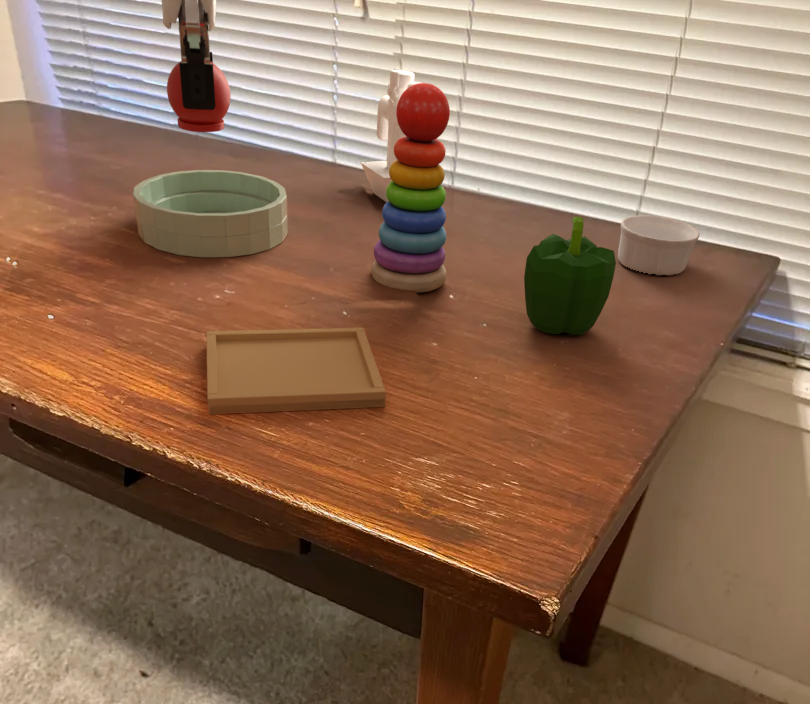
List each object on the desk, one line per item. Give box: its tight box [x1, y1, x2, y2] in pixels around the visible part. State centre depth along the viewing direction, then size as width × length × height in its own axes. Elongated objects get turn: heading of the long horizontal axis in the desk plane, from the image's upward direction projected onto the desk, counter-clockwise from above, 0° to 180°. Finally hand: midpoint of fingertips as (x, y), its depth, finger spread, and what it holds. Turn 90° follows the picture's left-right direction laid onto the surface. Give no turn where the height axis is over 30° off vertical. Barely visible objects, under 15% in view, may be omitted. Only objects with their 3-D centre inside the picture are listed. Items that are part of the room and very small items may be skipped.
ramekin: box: [617, 214, 701, 276], centre depth 94 cm, size 9×9×4 cm
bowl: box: [132, 169, 289, 258], centre depth 92 cm, size 17×17×5 cm
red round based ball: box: [166, 60, 232, 133], centre depth 84 cm, size 6×6×7 cm
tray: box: [205, 327, 387, 415], centre depth 69 cm, size 14×12×1 cm
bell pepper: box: [523, 216, 617, 336], centre depth 77 cm, size 8×8×10 cm
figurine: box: [360, 68, 421, 203], centre depth 105 cm, size 7×9×15 cm
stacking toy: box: [370, 82, 451, 294], centre depth 81 cm, size 8×8×19 cm
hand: (199, 99), depth 85 cm, fingers closed on red round based ball, 6 cm apart
